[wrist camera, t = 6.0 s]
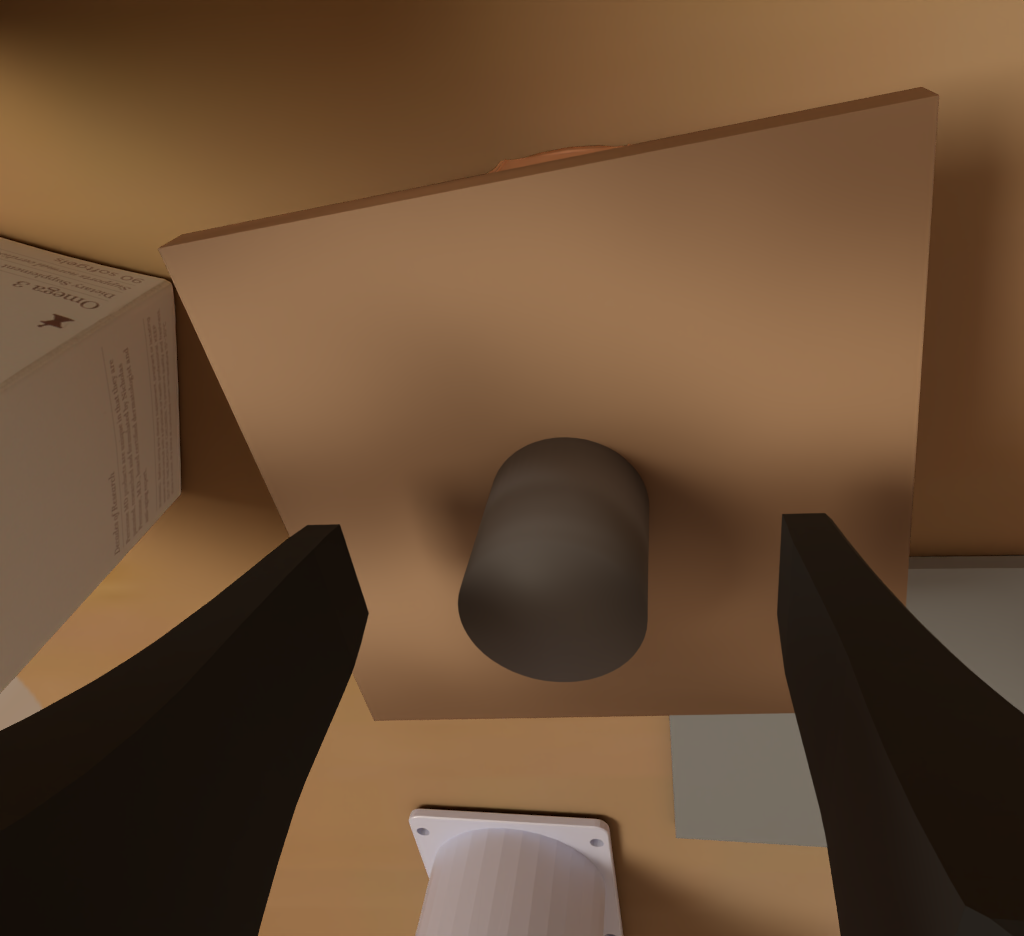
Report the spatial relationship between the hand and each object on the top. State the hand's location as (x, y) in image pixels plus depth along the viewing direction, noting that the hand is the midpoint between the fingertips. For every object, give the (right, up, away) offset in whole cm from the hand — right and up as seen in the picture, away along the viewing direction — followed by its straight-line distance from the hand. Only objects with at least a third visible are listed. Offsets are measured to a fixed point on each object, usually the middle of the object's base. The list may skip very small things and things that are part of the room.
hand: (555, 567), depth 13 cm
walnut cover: (+1, +1, +3) cm, 3 cm away
